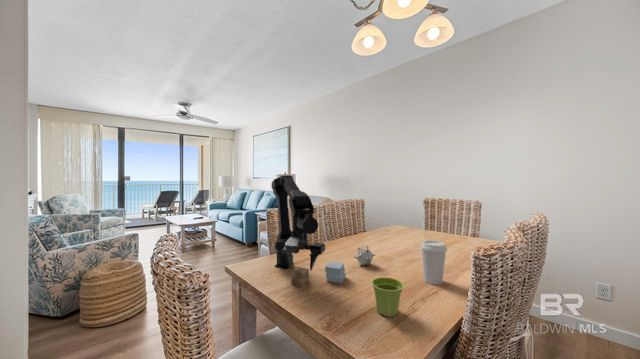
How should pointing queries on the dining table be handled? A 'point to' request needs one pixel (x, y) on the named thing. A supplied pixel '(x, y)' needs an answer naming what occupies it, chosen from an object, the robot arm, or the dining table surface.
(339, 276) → the slab middle
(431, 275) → the coffee cup
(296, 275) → the walnut cube
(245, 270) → the dining table surface
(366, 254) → the game die
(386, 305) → the plant pot
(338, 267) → the slab top
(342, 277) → the slab bottom
